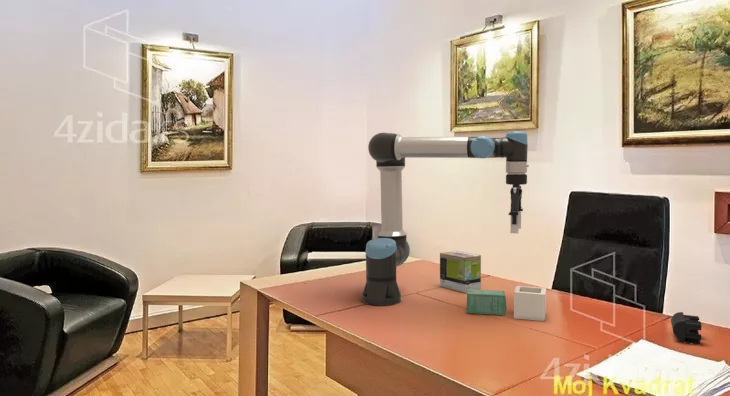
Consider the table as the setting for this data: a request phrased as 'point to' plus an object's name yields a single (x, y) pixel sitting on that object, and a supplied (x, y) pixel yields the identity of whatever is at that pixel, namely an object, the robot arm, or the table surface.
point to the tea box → (460, 271)
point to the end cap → (686, 328)
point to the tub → (530, 303)
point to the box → (486, 302)
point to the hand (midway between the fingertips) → (515, 230)
